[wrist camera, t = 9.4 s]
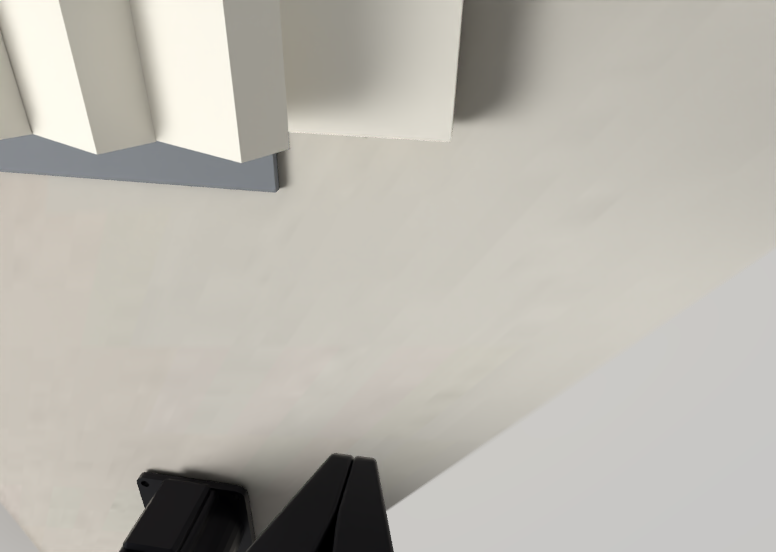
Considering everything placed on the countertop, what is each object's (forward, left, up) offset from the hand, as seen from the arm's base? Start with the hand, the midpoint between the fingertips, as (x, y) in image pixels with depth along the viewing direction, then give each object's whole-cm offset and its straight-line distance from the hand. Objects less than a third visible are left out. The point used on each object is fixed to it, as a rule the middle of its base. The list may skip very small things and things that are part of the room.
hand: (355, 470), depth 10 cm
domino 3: (+6, +16, -11) cm, 20 cm away
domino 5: (+6, +8, -11) cm, 15 cm away
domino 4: (+6, +12, -11) cm, 17 cm away
